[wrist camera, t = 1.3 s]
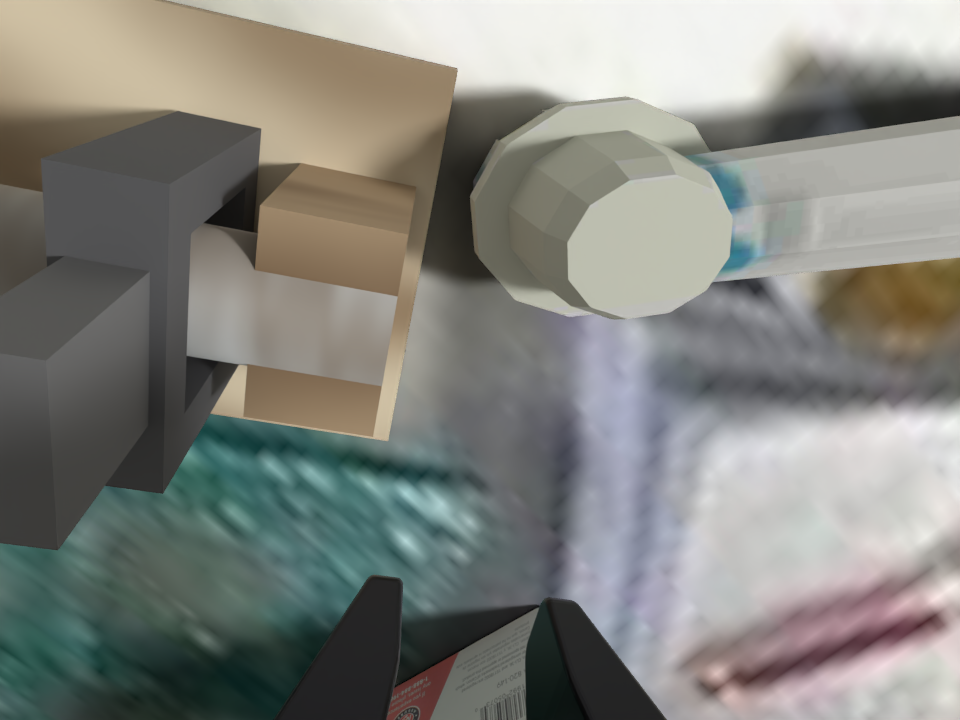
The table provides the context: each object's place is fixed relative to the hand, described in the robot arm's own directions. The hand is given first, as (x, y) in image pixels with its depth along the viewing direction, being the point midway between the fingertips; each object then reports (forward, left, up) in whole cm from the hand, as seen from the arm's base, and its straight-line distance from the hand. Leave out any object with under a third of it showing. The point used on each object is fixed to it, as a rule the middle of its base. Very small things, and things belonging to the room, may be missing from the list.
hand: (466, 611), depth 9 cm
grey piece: (+6, -12, -14) cm, 19 cm away
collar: (0, +7, -12) cm, 13 cm away
